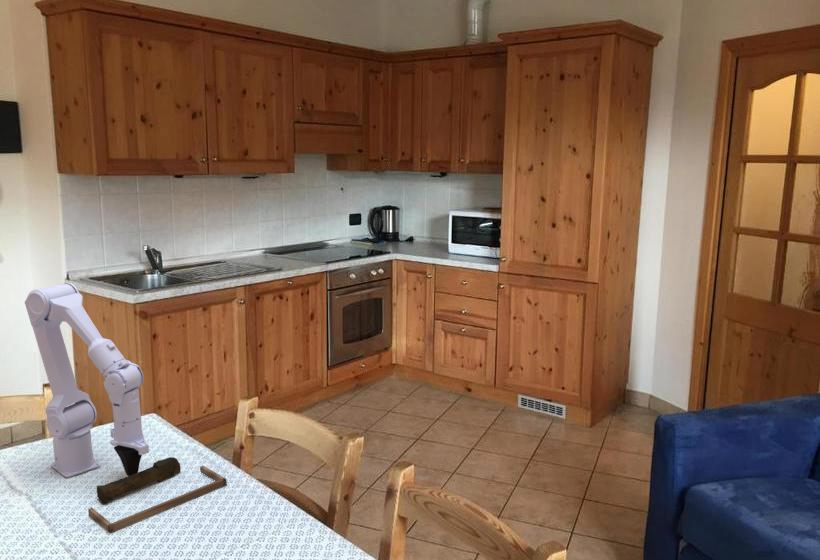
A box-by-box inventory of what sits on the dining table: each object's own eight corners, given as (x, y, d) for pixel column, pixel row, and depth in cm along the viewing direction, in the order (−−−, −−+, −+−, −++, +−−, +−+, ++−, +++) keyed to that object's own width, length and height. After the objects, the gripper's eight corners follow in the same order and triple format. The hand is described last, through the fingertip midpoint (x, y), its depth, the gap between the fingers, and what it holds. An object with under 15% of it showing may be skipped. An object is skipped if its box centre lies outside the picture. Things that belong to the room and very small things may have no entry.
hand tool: (103, 507, 145) (102, 487, 144) (96, 500, 148) (94, 480, 147) (186, 477, 158) (185, 458, 158) (177, 471, 161) (176, 453, 160)
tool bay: (88, 515, 141) (88, 509, 141) (203, 471, 160) (203, 465, 160) (109, 533, 135) (109, 526, 134) (226, 485, 154) (226, 478, 154)
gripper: (95, 415, 155) (100, 470, 158) (124, 432, 146) (129, 491, 148) (125, 406, 160) (130, 460, 163) (155, 422, 151) (160, 479, 153)
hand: (132, 474), depth 156 cm, fingers closed
